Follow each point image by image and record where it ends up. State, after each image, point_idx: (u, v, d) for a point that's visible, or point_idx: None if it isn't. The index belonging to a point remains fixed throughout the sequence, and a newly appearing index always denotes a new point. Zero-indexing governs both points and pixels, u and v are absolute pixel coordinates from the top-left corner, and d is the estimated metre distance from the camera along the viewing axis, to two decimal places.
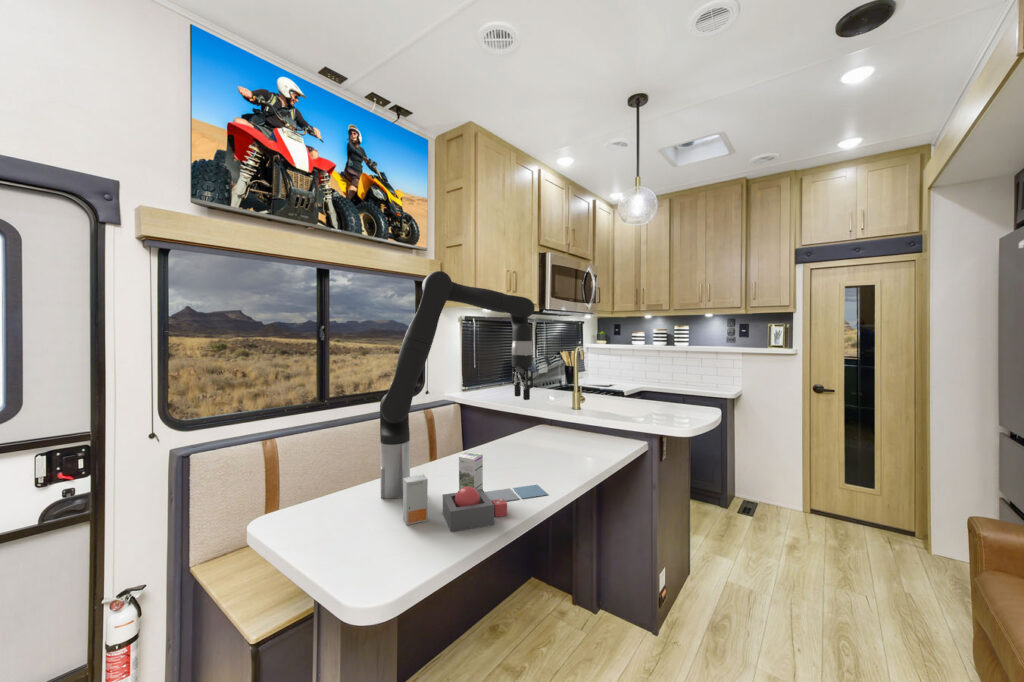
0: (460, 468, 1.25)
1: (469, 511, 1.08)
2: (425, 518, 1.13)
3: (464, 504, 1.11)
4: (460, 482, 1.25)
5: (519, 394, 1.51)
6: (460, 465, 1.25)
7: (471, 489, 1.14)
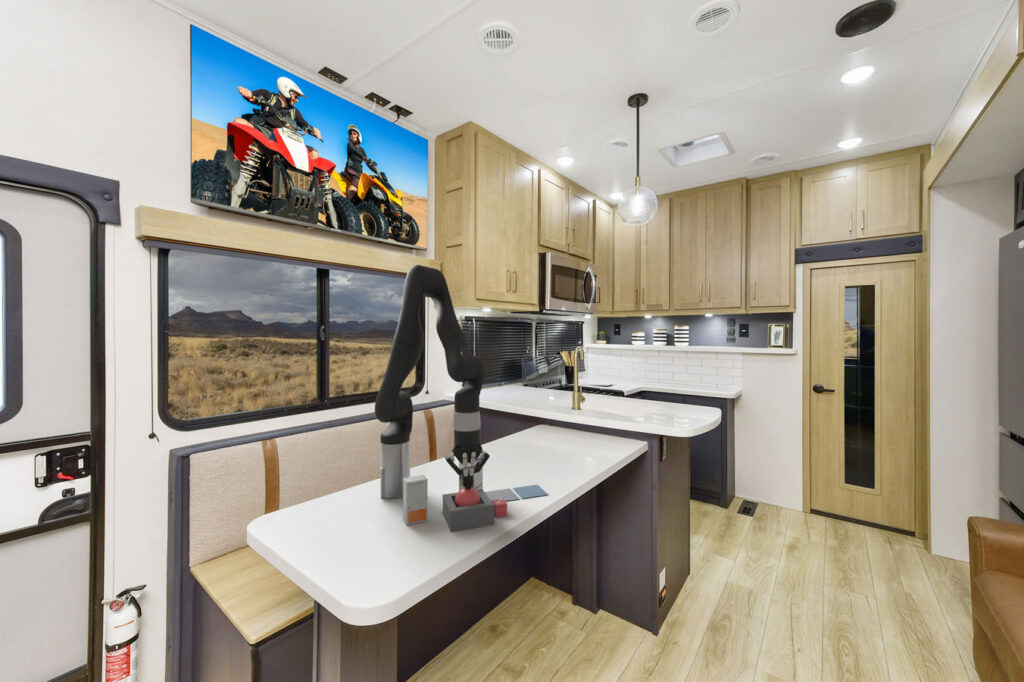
0: (460, 468, 1.25)
1: (469, 511, 1.08)
2: (425, 518, 1.13)
3: (464, 504, 1.11)
4: (460, 482, 1.25)
5: None
6: (460, 465, 1.25)
7: (471, 490, 1.14)
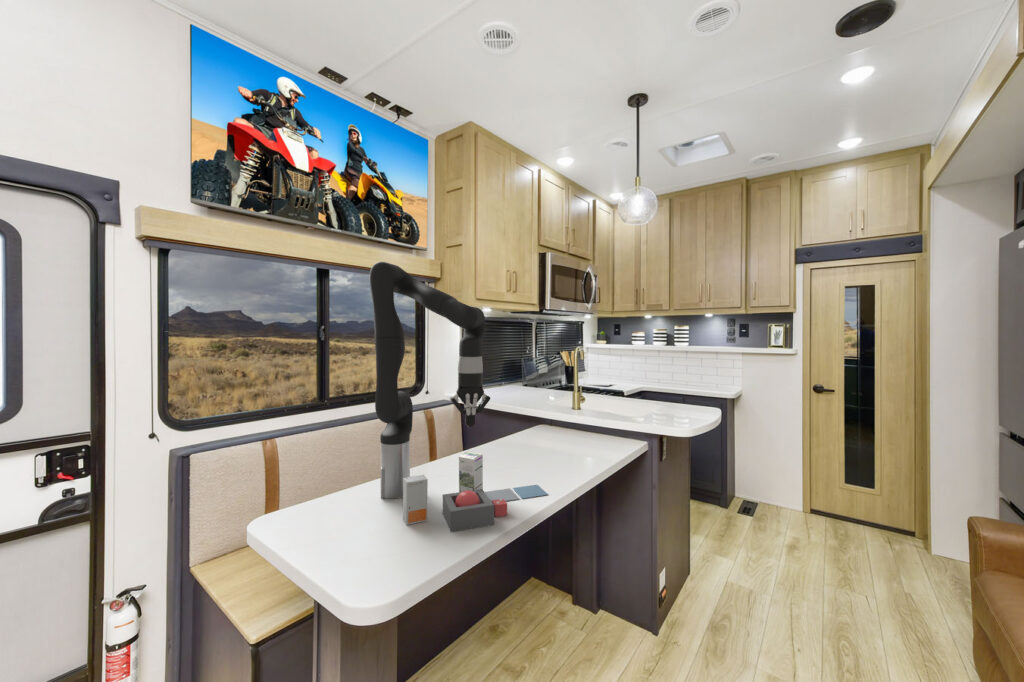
0: (460, 468, 1.25)
1: (469, 511, 1.08)
2: (425, 518, 1.13)
3: None
4: (460, 482, 1.25)
5: None
6: (460, 465, 1.25)
7: (471, 493, 1.14)
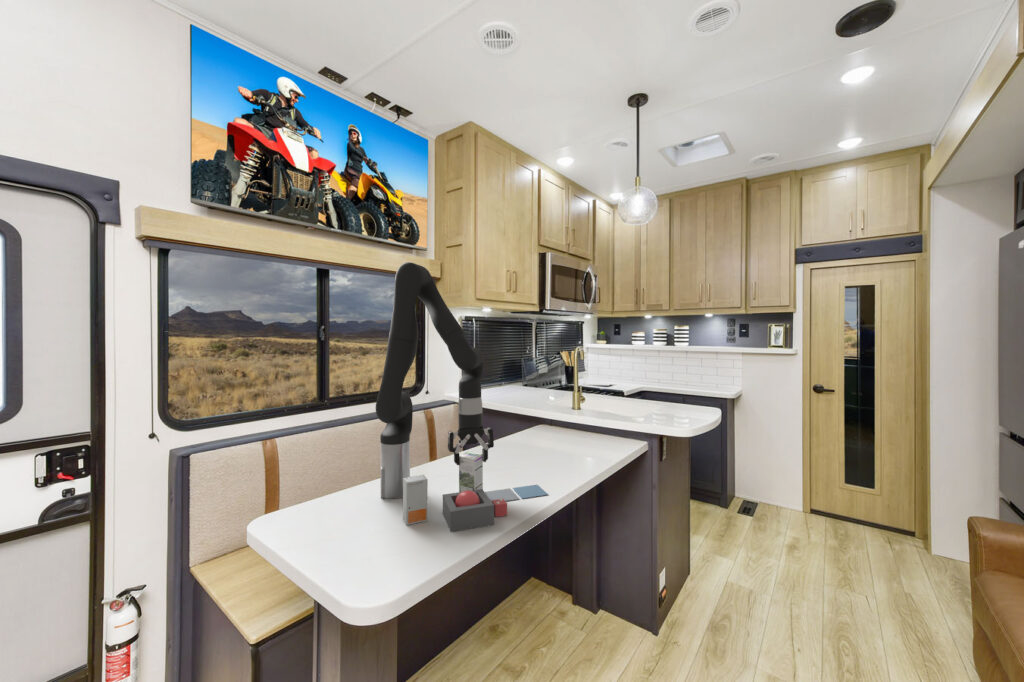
0: (460, 468, 1.25)
1: (469, 511, 1.08)
2: (425, 518, 1.13)
3: None
4: (460, 482, 1.25)
5: None
6: (460, 465, 1.25)
7: (471, 493, 1.14)
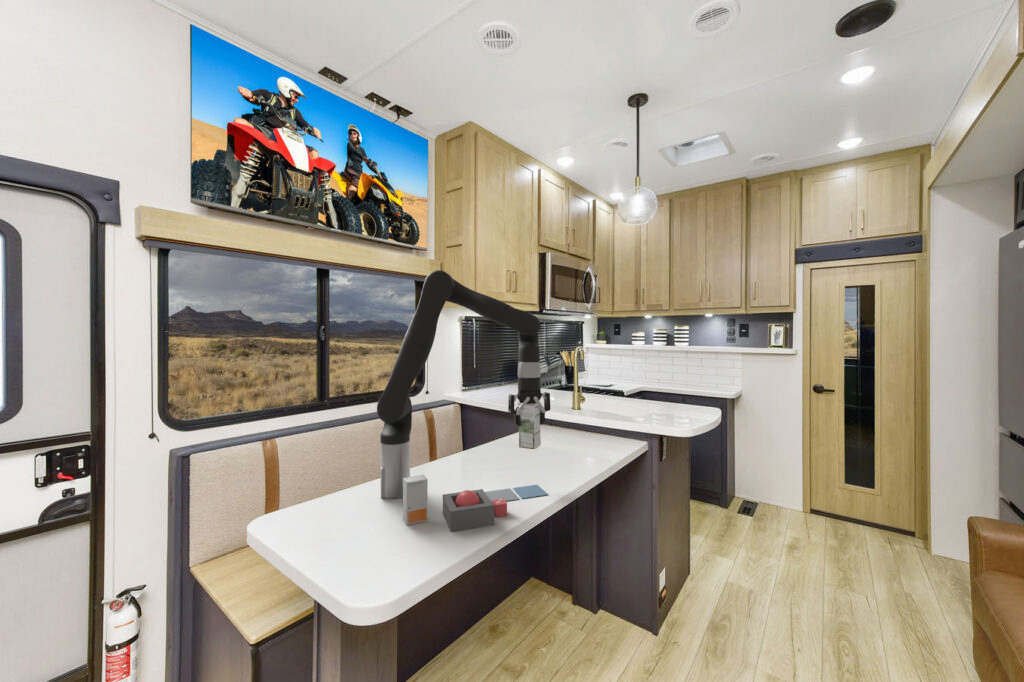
0: (520, 415, 1.31)
1: (469, 511, 1.08)
2: (425, 518, 1.13)
3: None
4: (520, 428, 1.32)
5: None
6: (520, 412, 1.31)
7: (471, 493, 1.14)
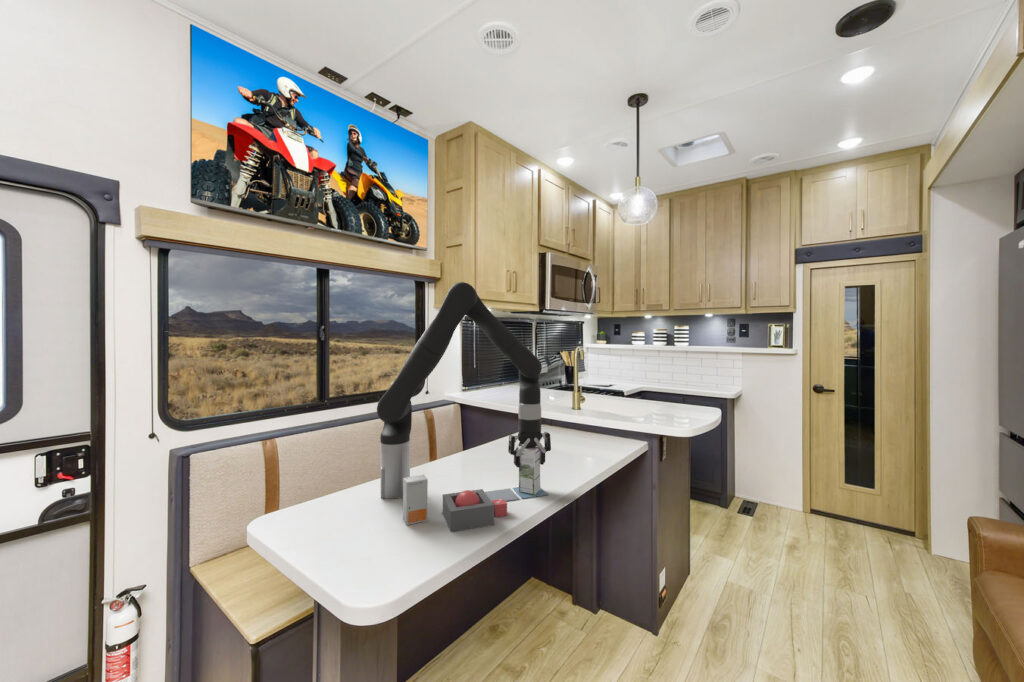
0: (520, 460, 1.32)
1: (469, 511, 1.08)
2: (425, 518, 1.13)
3: None
4: (520, 473, 1.32)
5: None
6: (520, 457, 1.32)
7: (471, 493, 1.14)
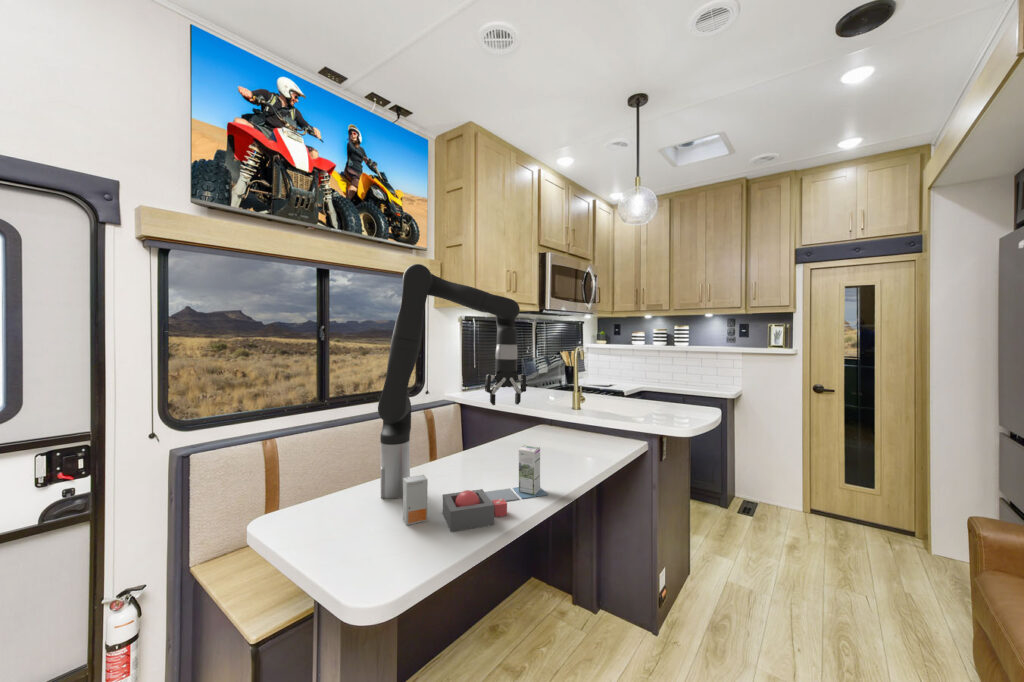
0: (520, 460, 1.32)
1: (469, 511, 1.08)
2: (425, 518, 1.13)
3: None
4: (520, 473, 1.32)
5: None
6: (520, 457, 1.32)
7: (471, 493, 1.14)
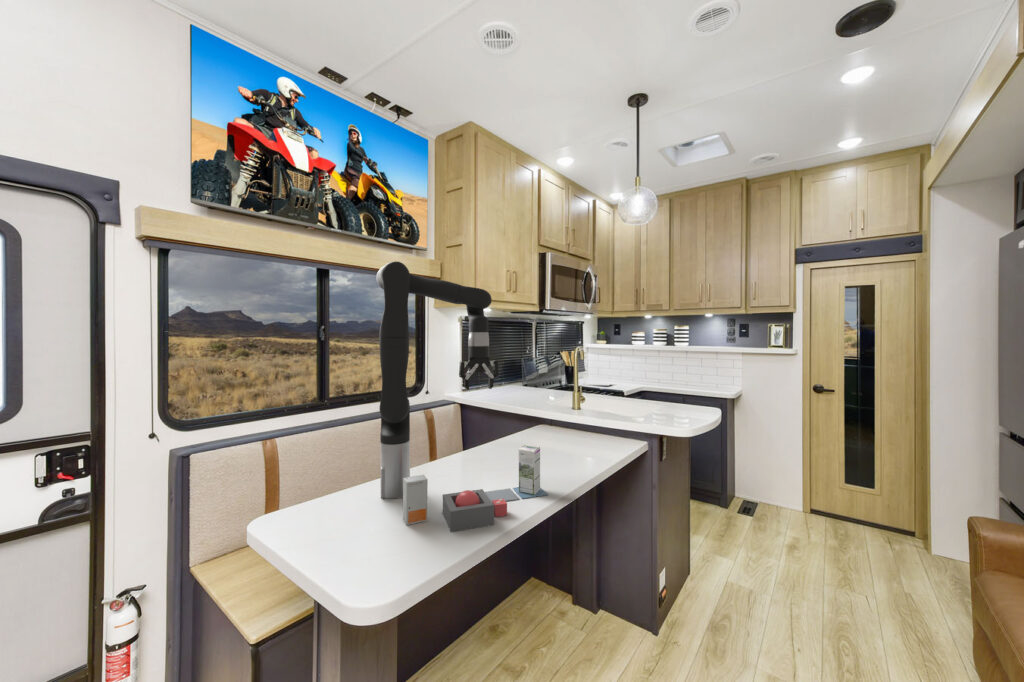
0: (520, 460, 1.32)
1: (469, 511, 1.08)
2: (425, 518, 1.13)
3: None
4: (520, 473, 1.32)
5: None
6: (520, 457, 1.32)
7: (471, 493, 1.14)
